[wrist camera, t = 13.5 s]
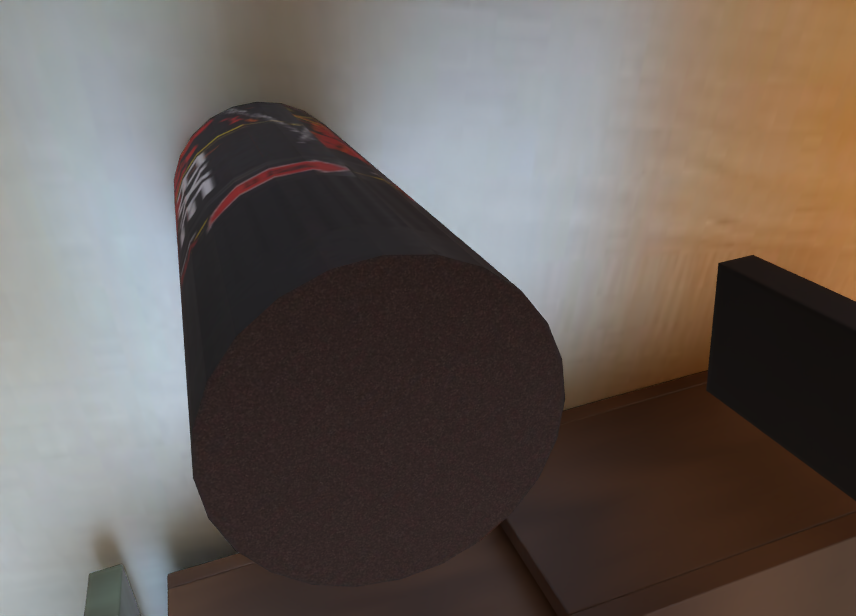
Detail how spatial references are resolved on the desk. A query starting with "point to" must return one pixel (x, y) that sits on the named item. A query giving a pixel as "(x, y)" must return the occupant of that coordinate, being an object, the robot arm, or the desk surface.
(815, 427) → the robot arm
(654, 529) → the cabinet
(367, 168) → the deodorant
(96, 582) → the drawer
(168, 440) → the desk surface
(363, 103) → the desk surface
